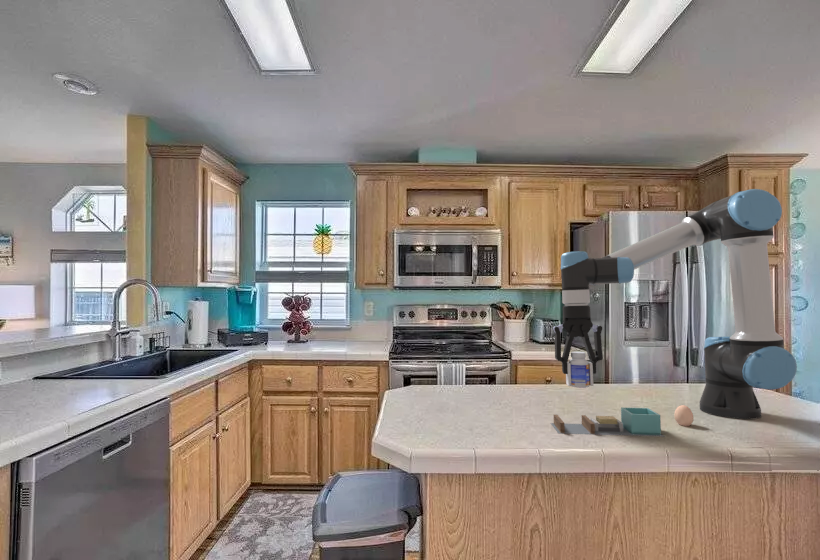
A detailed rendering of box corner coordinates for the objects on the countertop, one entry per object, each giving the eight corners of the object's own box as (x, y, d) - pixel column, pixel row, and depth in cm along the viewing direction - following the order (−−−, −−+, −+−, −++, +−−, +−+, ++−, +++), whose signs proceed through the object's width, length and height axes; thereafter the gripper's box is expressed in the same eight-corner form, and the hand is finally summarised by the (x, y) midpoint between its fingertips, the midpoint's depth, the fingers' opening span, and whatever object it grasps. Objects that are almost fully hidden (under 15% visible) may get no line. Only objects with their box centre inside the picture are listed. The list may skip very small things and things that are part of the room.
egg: (696, 429, 115) (695, 407, 115) (677, 427, 116) (676, 406, 117) (691, 424, 119) (690, 403, 119) (672, 423, 121) (672, 402, 121)
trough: (585, 424, 118) (585, 415, 118) (594, 433, 110) (594, 423, 110) (553, 423, 119) (553, 414, 119) (560, 432, 111) (560, 422, 111)
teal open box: (648, 426, 116) (648, 408, 116) (660, 435, 109) (660, 415, 109) (621, 426, 117) (621, 407, 117) (631, 434, 110) (631, 414, 110)
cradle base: (618, 427, 115) (617, 419, 115) (623, 431, 112) (623, 423, 112) (590, 427, 116) (590, 418, 116) (595, 431, 112) (594, 422, 112)
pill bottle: (591, 388, 121) (590, 353, 122) (571, 388, 122) (570, 353, 123) (587, 384, 127) (586, 351, 127) (568, 384, 128) (567, 351, 128)
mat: (648, 427, 117) (648, 425, 117) (664, 438, 108) (664, 436, 108) (550, 424, 120) (550, 423, 120) (558, 434, 111) (558, 433, 111)
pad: (613, 420, 115) (613, 416, 115) (617, 424, 112) (617, 419, 112) (596, 420, 115) (595, 415, 116) (599, 423, 113) (599, 418, 113)
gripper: (604, 303, 128) (608, 382, 127) (541, 305, 130) (544, 382, 129) (613, 304, 121) (617, 387, 120) (546, 305, 123) (549, 388, 122)
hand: (579, 384), depth 124 cm, fingers closed on pill bottle, 5 cm apart
